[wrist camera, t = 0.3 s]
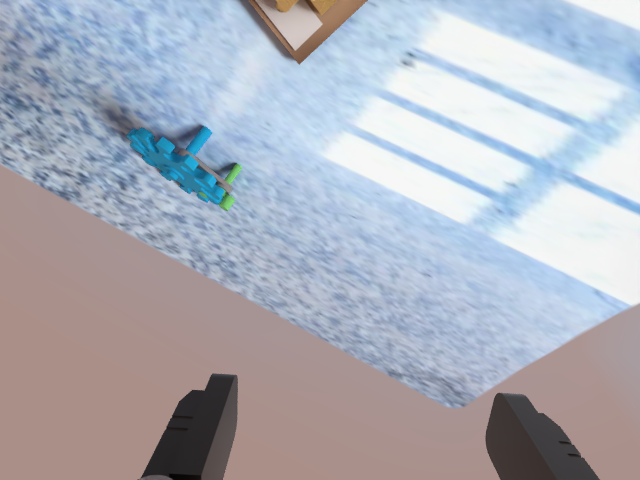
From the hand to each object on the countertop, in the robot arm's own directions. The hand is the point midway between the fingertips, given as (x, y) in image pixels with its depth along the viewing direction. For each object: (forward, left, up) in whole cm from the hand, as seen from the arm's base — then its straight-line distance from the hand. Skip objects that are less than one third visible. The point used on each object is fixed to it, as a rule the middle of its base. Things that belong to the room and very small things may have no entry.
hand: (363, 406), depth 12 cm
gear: (-5, -16, -30) cm, 35 cm away
